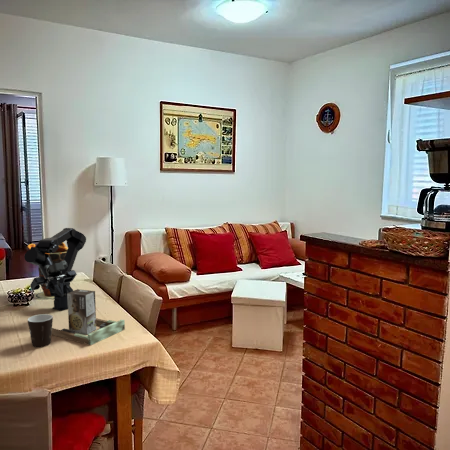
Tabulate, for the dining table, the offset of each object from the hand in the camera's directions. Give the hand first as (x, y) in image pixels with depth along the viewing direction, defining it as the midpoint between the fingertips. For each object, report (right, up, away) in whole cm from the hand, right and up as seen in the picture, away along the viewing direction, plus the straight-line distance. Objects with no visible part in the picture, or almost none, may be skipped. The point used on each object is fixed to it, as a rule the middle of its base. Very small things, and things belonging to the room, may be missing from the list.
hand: (62, 295), depth 174 cm
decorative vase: (-23, -7, +44) cm, 50 cm away
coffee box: (+10, -13, -6) cm, 18 cm away
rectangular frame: (+12, -13, -7) cm, 19 cm away
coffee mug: (0, -15, -21) cm, 26 cm away
